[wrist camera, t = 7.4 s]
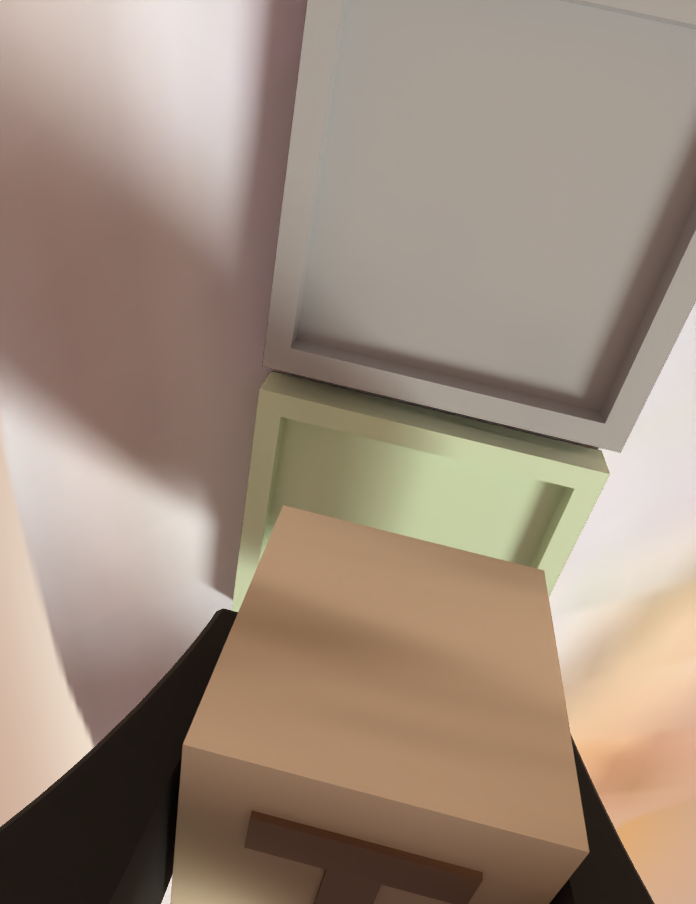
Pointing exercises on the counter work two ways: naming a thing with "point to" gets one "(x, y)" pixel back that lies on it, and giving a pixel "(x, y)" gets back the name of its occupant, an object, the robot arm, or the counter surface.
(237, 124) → the counter surface
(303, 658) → the letter block
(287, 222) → the middle dish
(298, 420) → the green dish
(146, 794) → the robot arm
